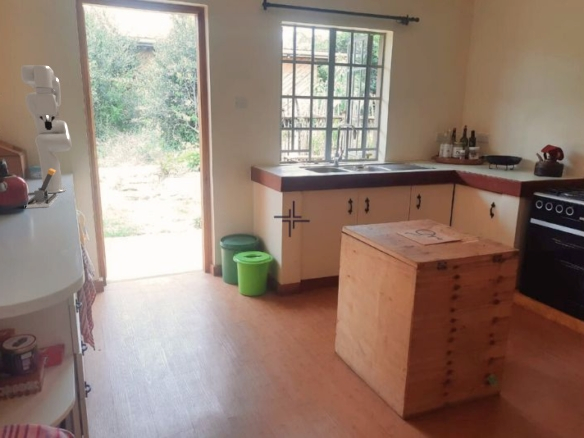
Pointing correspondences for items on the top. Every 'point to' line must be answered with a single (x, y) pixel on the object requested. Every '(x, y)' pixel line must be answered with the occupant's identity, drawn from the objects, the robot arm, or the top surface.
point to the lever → (48, 179)
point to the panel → (39, 204)
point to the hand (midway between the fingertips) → (49, 129)
